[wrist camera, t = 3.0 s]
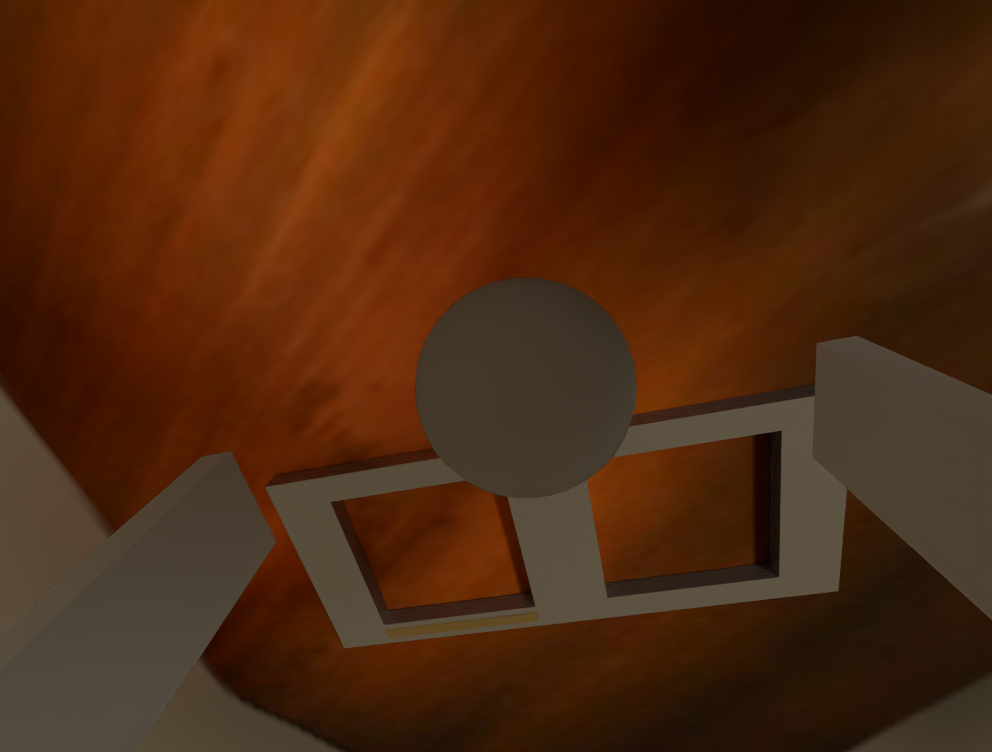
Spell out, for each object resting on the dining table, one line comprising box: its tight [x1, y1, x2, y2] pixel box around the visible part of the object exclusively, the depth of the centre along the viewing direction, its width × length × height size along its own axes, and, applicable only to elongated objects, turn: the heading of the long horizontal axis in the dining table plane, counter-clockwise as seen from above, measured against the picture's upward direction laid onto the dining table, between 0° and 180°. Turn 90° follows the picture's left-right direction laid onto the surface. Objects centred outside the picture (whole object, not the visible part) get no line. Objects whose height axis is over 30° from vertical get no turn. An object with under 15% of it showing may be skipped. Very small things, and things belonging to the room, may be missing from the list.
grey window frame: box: [265, 384, 847, 648], centre depth 25 cm, size 12×28×1 cm, turn 102°
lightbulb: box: [415, 278, 637, 498], centre depth 15 cm, size 6×6×11 cm
